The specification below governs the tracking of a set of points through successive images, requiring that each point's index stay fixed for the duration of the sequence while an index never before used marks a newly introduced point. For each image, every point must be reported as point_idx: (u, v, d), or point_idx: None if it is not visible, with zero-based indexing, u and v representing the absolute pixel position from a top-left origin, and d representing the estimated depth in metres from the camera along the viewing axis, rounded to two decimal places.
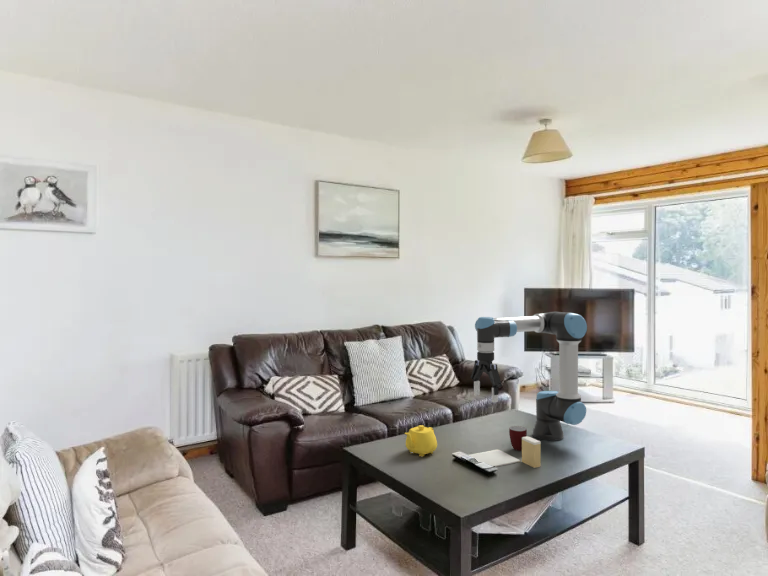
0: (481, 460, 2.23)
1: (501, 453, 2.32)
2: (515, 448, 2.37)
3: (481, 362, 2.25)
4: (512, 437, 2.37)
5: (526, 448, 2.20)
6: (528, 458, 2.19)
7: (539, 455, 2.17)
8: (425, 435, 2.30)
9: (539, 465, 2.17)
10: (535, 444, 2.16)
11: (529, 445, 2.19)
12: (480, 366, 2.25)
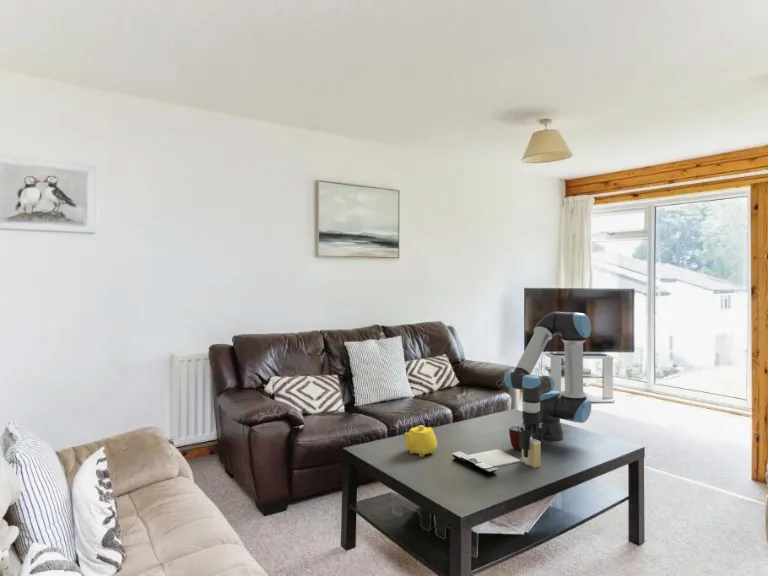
0: (481, 460, 2.23)
1: (501, 453, 2.32)
2: (515, 448, 2.37)
3: None
4: (512, 437, 2.37)
5: None
6: None
7: (539, 455, 2.17)
8: (426, 435, 2.30)
9: (539, 465, 2.17)
10: (535, 444, 2.16)
11: (529, 445, 2.19)
12: None
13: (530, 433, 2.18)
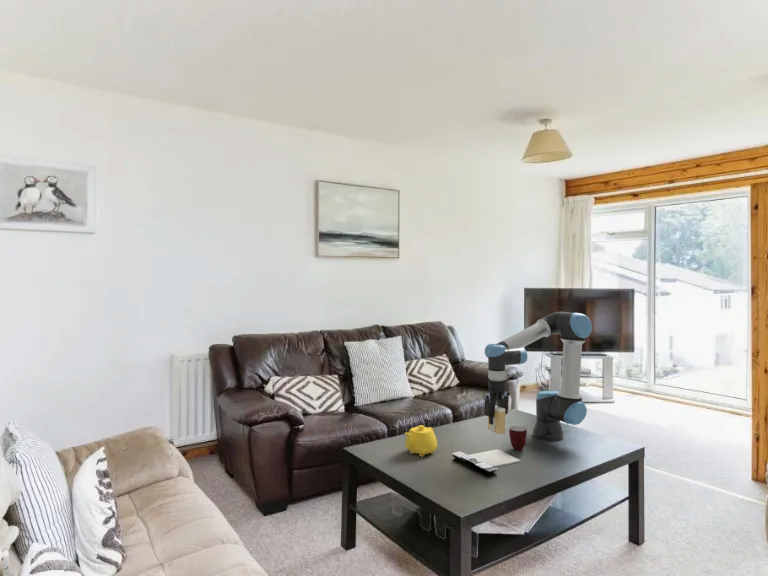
0: (481, 460, 2.23)
1: (501, 453, 2.32)
2: (515, 448, 2.37)
3: None
4: (512, 437, 2.37)
5: None
6: None
7: (504, 422, 2.24)
8: (426, 435, 2.30)
9: (504, 432, 2.24)
10: (500, 411, 2.23)
11: (494, 412, 2.25)
12: None
13: (495, 401, 2.24)
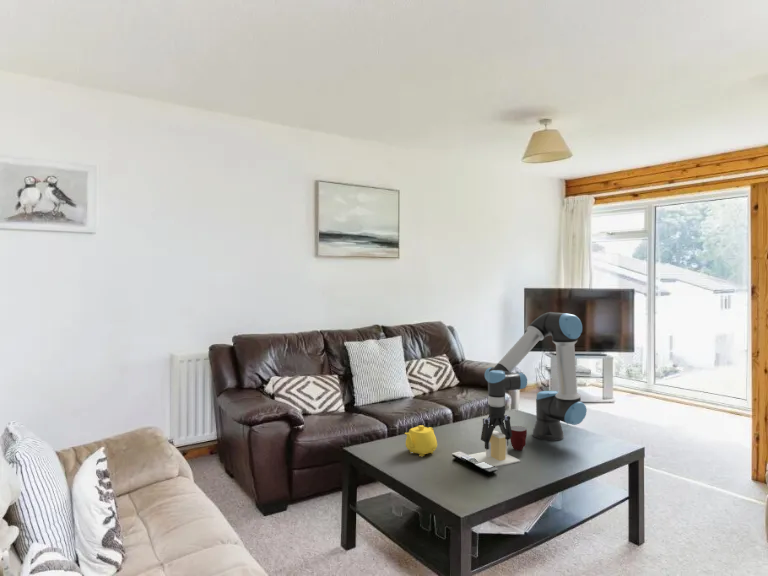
0: (481, 460, 2.23)
1: None
2: (515, 448, 2.37)
3: None
4: (512, 437, 2.37)
5: (492, 441, 2.27)
6: (494, 451, 2.26)
7: (504, 448, 2.24)
8: (425, 435, 2.30)
9: (504, 458, 2.24)
10: (500, 437, 2.23)
11: (494, 439, 2.26)
12: None
13: (494, 426, 2.24)
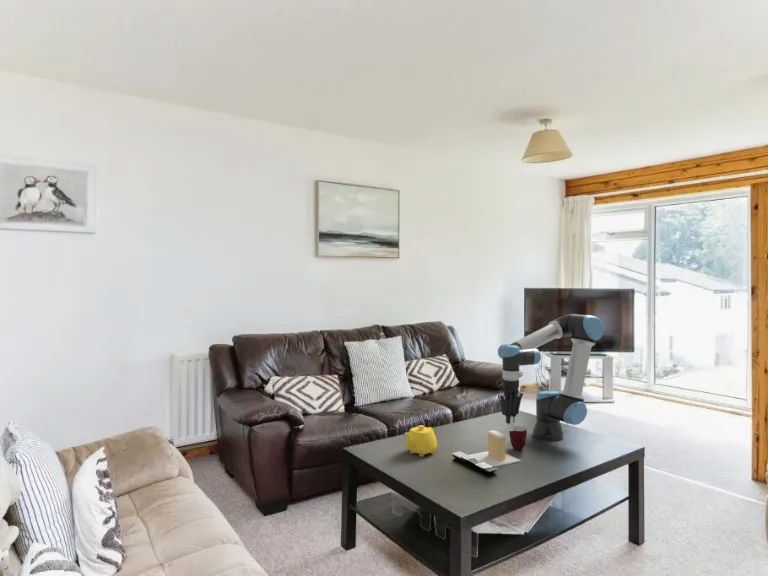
0: (481, 460, 2.23)
1: None
2: (515, 448, 2.37)
3: None
4: (512, 437, 2.37)
5: (492, 441, 2.27)
6: (494, 451, 2.26)
7: (504, 448, 2.24)
8: (425, 435, 2.30)
9: (504, 458, 2.24)
10: (500, 437, 2.23)
11: (494, 439, 2.26)
12: None
13: (510, 400, 2.28)
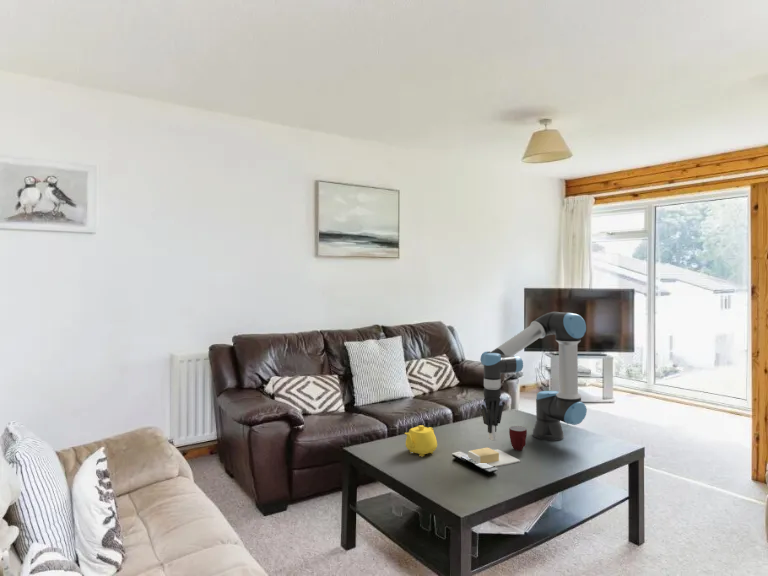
0: None
1: (501, 453, 2.32)
2: (515, 448, 2.37)
3: None
4: (512, 437, 2.37)
5: None
6: None
7: (489, 456, 2.21)
8: (425, 435, 2.30)
9: (497, 454, 2.23)
10: (480, 462, 2.19)
11: None
12: None
13: (492, 409, 2.24)
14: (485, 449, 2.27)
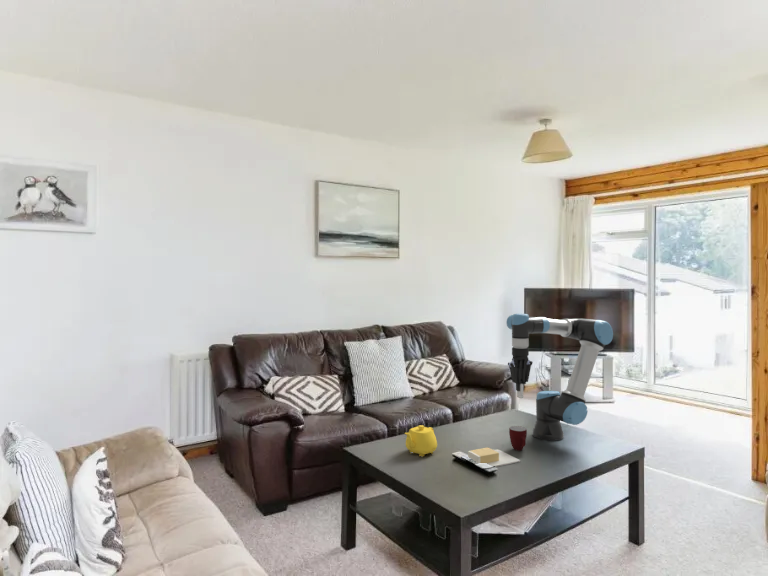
0: None
1: (501, 453, 2.32)
2: (515, 448, 2.37)
3: None
4: (512, 437, 2.37)
5: None
6: None
7: (489, 456, 2.21)
8: (425, 435, 2.30)
9: (497, 454, 2.23)
10: (480, 462, 2.19)
11: None
12: None
13: (520, 368, 2.30)
14: (485, 449, 2.27)
